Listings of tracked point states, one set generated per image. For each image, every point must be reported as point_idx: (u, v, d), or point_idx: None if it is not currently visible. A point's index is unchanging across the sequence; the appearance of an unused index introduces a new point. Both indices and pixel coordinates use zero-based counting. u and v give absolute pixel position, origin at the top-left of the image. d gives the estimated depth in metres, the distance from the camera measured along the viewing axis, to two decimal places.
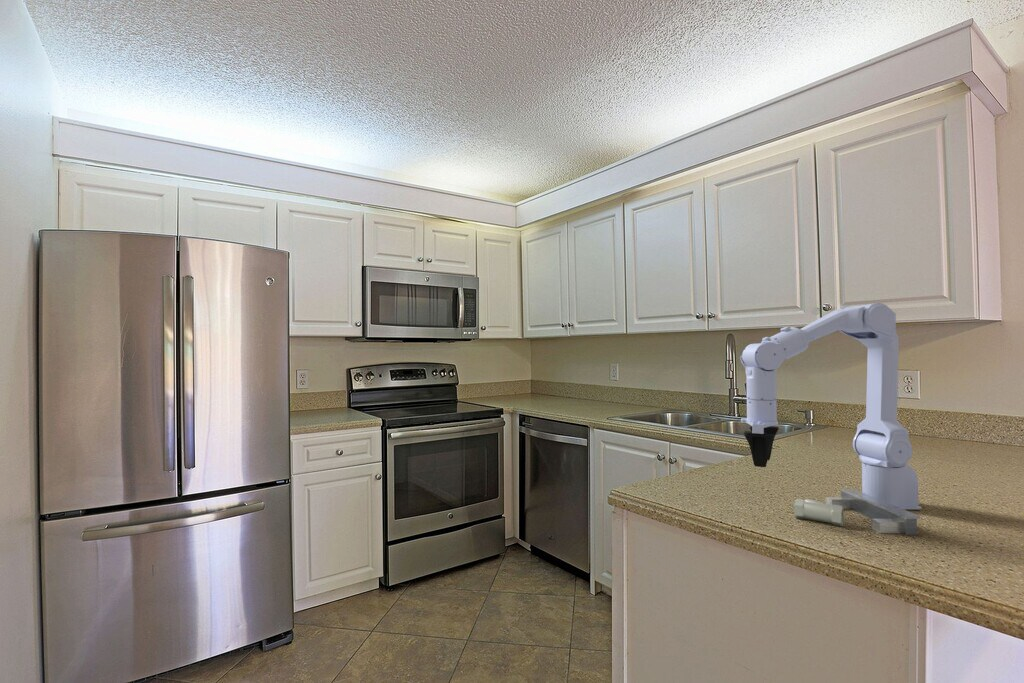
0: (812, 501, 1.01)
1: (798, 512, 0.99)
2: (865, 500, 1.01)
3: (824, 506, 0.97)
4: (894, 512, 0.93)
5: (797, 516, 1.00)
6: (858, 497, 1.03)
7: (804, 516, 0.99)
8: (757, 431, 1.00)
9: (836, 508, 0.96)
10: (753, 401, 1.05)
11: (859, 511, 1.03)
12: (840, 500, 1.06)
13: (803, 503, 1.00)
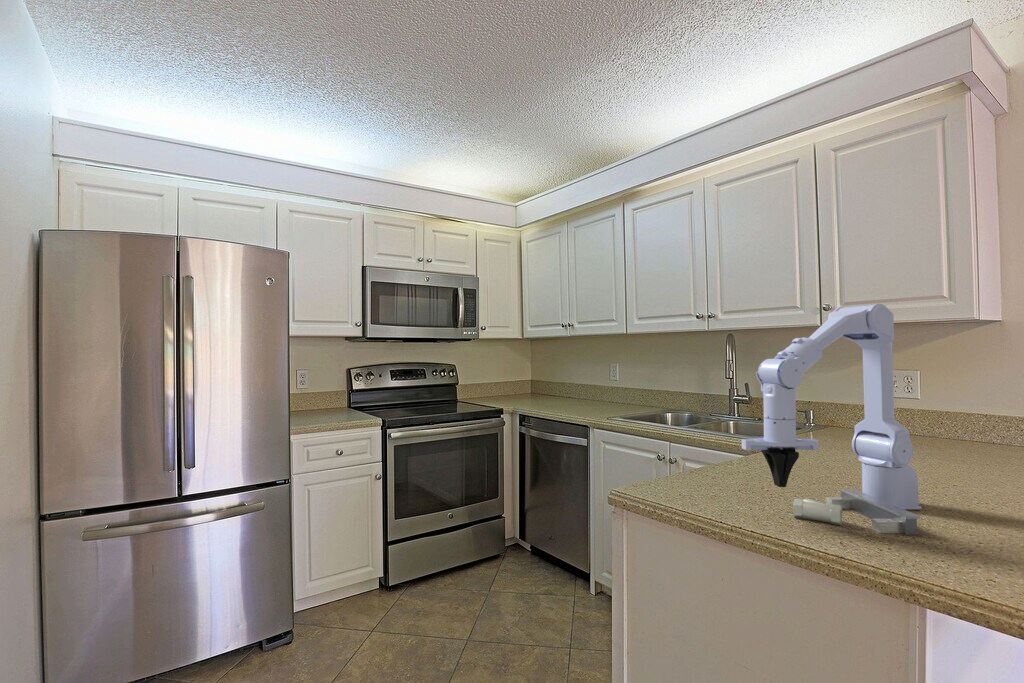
0: (810, 501, 1.02)
1: (797, 512, 1.00)
2: (865, 500, 1.01)
3: (823, 506, 0.98)
4: (894, 512, 0.93)
5: (796, 516, 1.00)
6: (858, 497, 1.03)
7: (803, 516, 0.99)
8: (743, 447, 1.00)
9: (835, 508, 0.96)
10: None
11: (859, 511, 1.03)
12: (840, 500, 1.06)
13: (802, 503, 1.00)
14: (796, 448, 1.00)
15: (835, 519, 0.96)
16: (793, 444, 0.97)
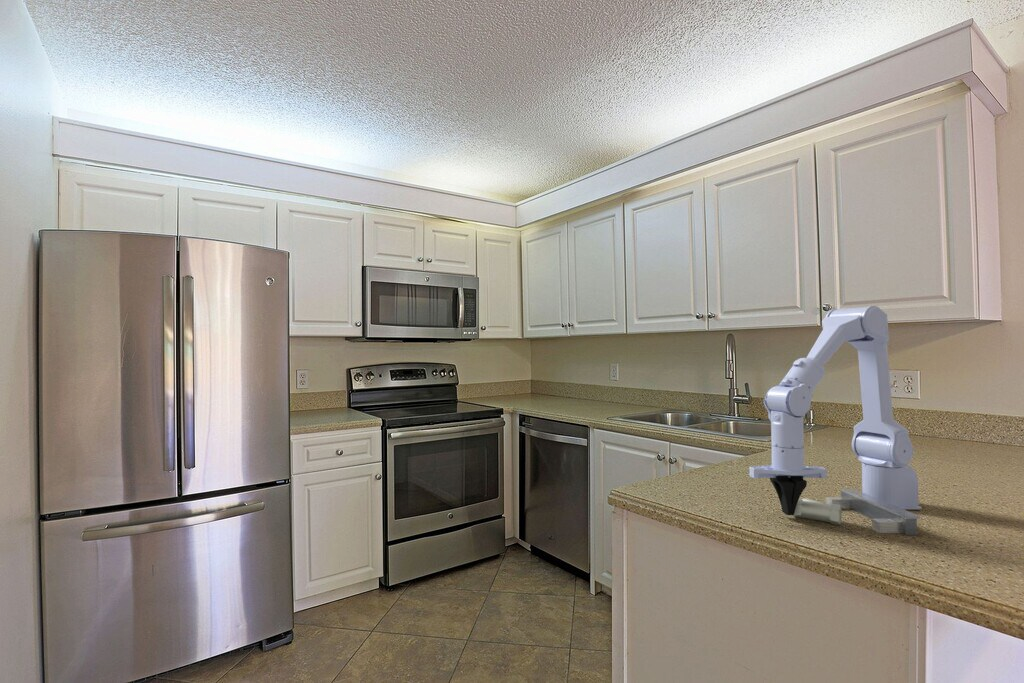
0: (810, 500, 1.02)
1: (796, 511, 1.00)
2: (865, 500, 1.01)
3: (822, 505, 0.98)
4: (894, 512, 0.93)
5: (795, 515, 1.00)
6: (858, 497, 1.03)
7: (802, 515, 0.99)
8: (751, 475, 1.00)
9: (834, 507, 0.97)
10: (771, 446, 1.01)
11: (859, 511, 1.03)
12: (840, 500, 1.06)
13: (801, 502, 1.00)
14: (804, 476, 1.00)
15: (834, 518, 0.96)
16: (801, 473, 0.97)
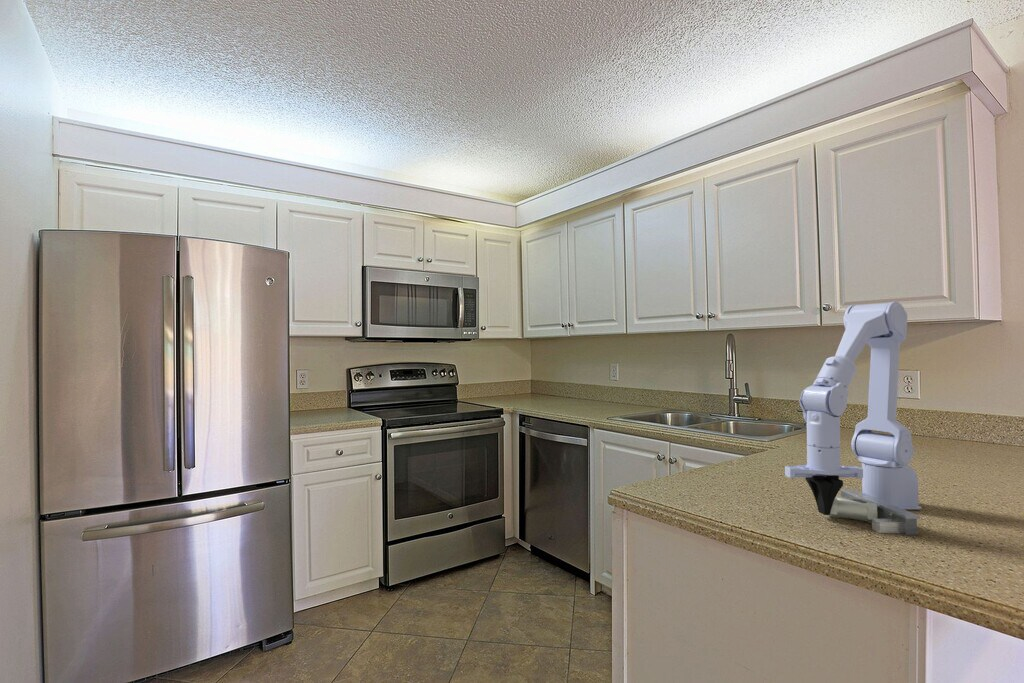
0: (843, 499, 1.02)
1: (833, 511, 0.99)
2: (865, 500, 1.01)
3: (858, 504, 0.98)
4: (894, 512, 0.93)
5: (831, 515, 1.00)
6: (858, 497, 1.03)
7: (838, 514, 0.99)
8: (787, 474, 1.00)
9: (871, 505, 0.97)
10: (807, 446, 1.01)
11: None
12: None
13: (837, 501, 1.00)
14: (840, 476, 1.00)
15: (872, 517, 0.96)
16: (838, 472, 0.97)
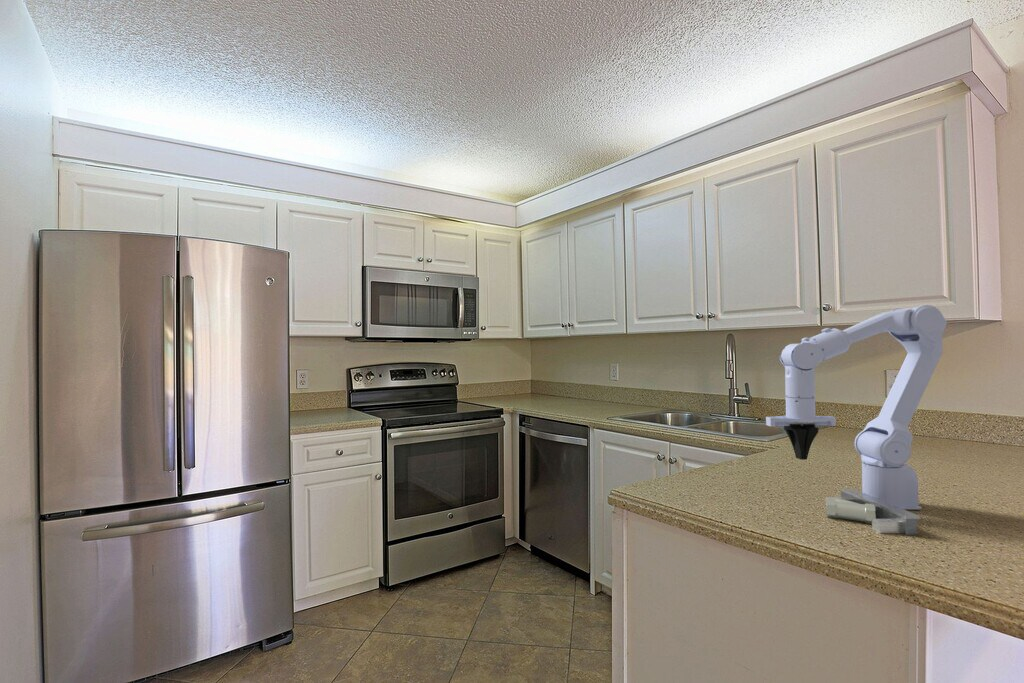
0: (841, 500, 1.02)
1: (831, 512, 1.00)
2: (865, 500, 1.01)
3: (857, 505, 0.98)
4: (894, 512, 0.93)
5: (829, 516, 1.00)
6: (858, 497, 1.03)
7: (837, 515, 0.99)
8: (768, 424, 1.10)
9: (869, 506, 0.97)
10: None
11: None
12: None
13: (835, 502, 1.00)
14: (815, 424, 1.10)
15: (870, 518, 0.96)
16: (813, 420, 1.07)
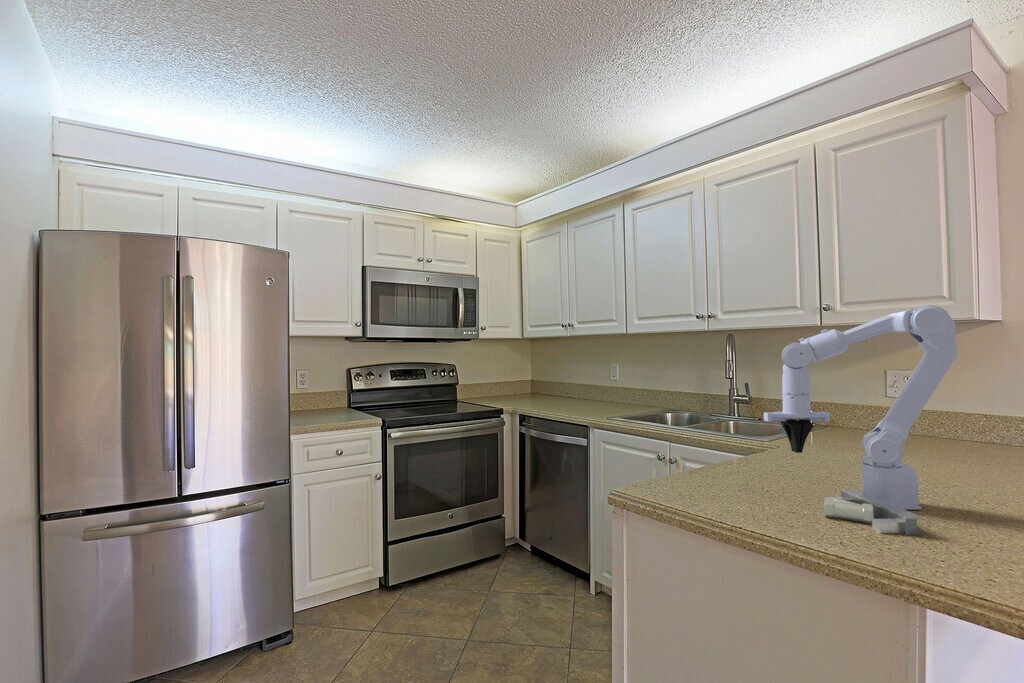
0: (840, 500, 1.02)
1: (829, 511, 1.00)
2: (865, 500, 1.01)
3: (855, 505, 0.98)
4: (894, 512, 0.93)
5: (827, 515, 1.00)
6: (858, 497, 1.03)
7: (835, 515, 0.99)
8: (765, 419, 1.17)
9: (867, 506, 0.97)
10: None
11: None
12: None
13: (833, 502, 1.00)
14: (810, 419, 1.17)
15: (868, 518, 0.96)
16: (808, 415, 1.14)
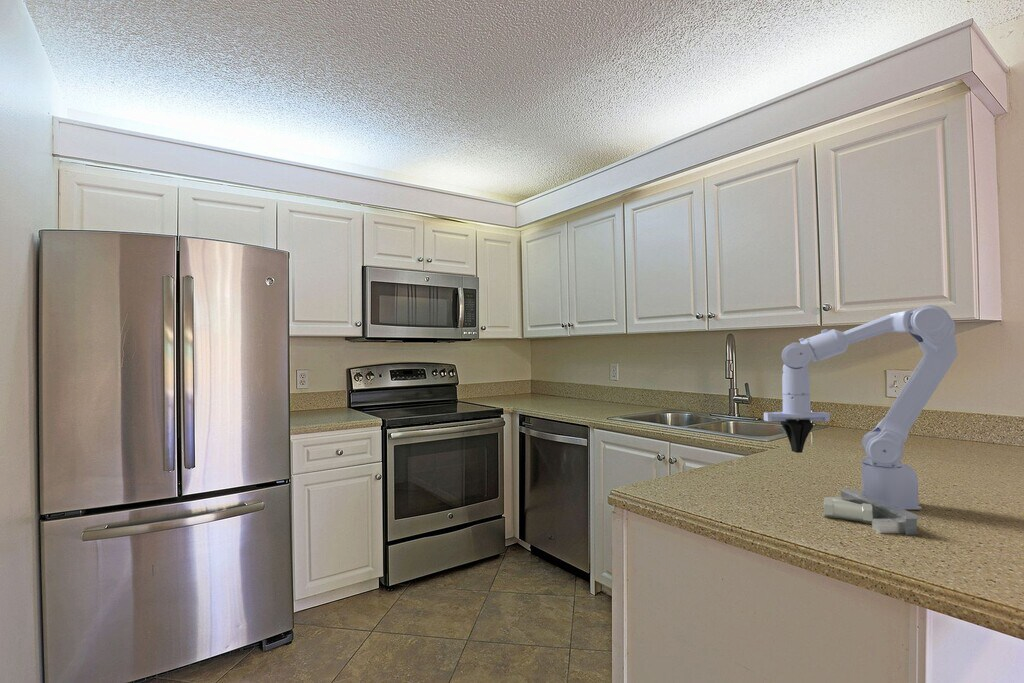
0: (839, 500, 1.02)
1: (828, 511, 1.00)
2: (865, 500, 1.01)
3: (854, 505, 0.98)
4: (894, 512, 0.93)
5: (826, 515, 1.00)
6: (858, 497, 1.03)
7: (834, 515, 0.99)
8: (765, 419, 1.17)
9: (866, 506, 0.97)
10: None
11: None
12: None
13: (832, 502, 1.00)
14: (810, 419, 1.17)
15: (867, 518, 0.96)
16: (808, 415, 1.14)
